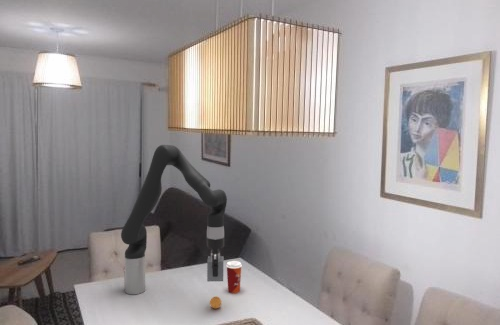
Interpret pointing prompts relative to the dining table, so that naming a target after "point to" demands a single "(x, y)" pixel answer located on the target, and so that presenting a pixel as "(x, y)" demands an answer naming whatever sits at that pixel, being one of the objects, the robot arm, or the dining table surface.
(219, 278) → the gray cube
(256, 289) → the dining table surface
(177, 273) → the dining table surface
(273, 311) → the dining table surface
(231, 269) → the paper cup
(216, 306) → the ball
